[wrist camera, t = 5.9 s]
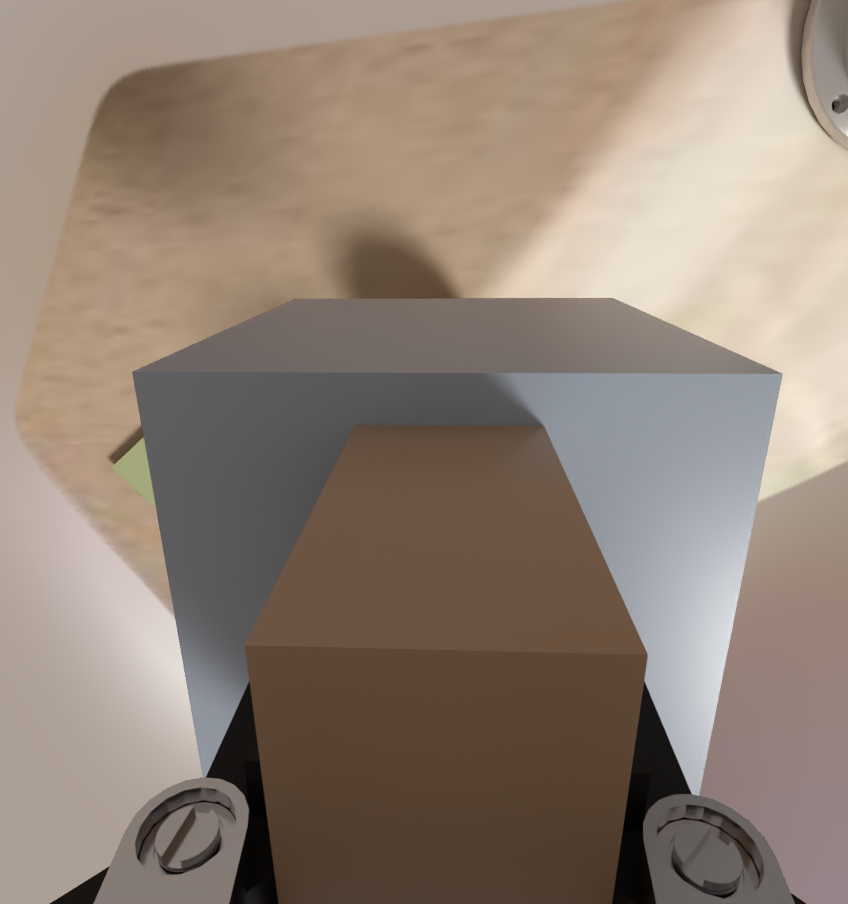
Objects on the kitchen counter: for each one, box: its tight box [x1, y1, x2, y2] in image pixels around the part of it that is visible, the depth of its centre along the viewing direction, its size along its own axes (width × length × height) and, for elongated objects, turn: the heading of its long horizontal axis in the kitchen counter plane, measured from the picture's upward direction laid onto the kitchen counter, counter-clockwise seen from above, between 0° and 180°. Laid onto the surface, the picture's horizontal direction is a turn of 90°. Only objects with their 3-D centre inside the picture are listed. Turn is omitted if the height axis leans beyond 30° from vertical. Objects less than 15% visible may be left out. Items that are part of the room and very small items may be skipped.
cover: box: [132, 298, 782, 904], centre depth 13 cm, size 10×10×16 cm
